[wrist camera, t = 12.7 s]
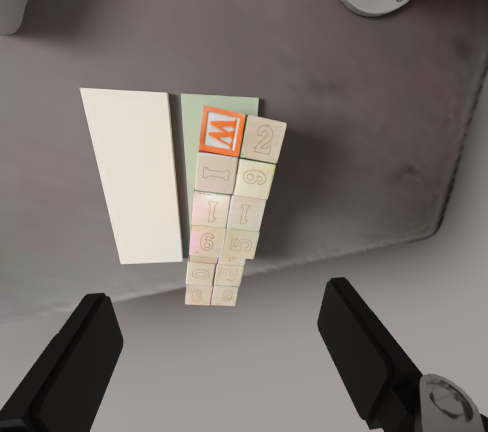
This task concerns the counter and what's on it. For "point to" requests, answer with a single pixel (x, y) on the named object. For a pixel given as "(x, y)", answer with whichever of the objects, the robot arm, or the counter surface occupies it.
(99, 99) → the cream mat
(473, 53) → the counter surface
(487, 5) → the counter surface
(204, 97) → the sage mat
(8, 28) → the grey animal paw
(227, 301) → the stack of blocks
